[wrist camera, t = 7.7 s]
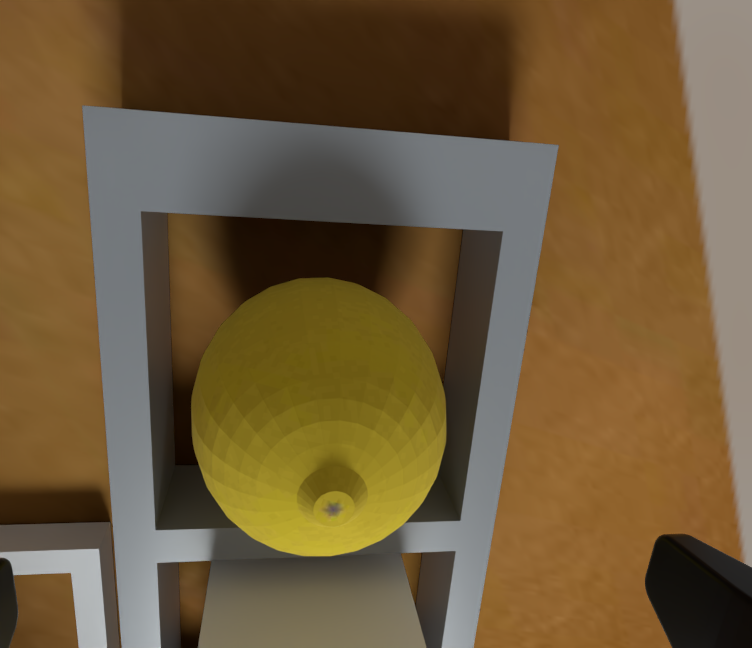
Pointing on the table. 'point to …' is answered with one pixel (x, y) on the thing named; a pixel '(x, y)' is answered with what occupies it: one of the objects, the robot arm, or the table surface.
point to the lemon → (318, 417)
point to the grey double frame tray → (312, 203)
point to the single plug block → (310, 603)
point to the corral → (71, 570)
